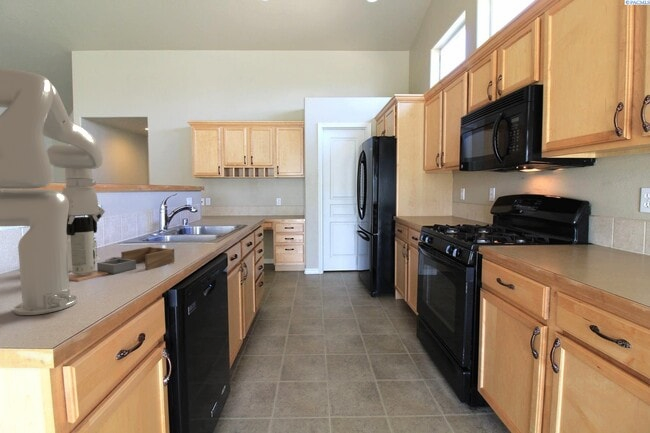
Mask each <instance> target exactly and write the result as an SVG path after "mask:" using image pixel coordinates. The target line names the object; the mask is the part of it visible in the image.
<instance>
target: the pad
mask: <svg viewBox="0 0 650 433" xmlns="http://www.w3.org/2000/svg"><path fill="white" fill-rule="evenodd" d="M105 275H109V274H108V272H101V271H97V270H95V271H94V272H91V273H86V274H73V273H69V281H74V282H81V281H85V280H90V279H94V278H98V277H101V276H105Z"/></svg>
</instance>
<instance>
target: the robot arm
mask: <svg viewBox="0 0 650 433" xmlns="http://www.w3.org/2000/svg"><path fill="white" fill-rule="evenodd" d="M0 108H3V109H4V108H5V110H4V111H3V112H1V114H0V227H29V229H28V230H27V231H26V233H24V234H23V235H22V236H21V238H20V240H19V241H18V246H17V249H18V251H17V252H18V262H19V263H18V264H19V277H20V289H21V303H19V304H17V305H16V306H15V307H14V308H13V310H14V314H16V315H19V316H36V315H43V314H49V313H53V312H58V311H62V310H64V309H67V308H70V307H72V306H74V305H75V304H76V303H77V302H78V297H77V296H76V295H74V294H71V291H70V290H71V289H70V280H69V274H70V273H69V272H68V256H67V238H66V233H67V235H75V230H74V224H72V222H73V220H74V218H75V217H84V216H85V217H92V218H93V229H94V234H96V233H97V232H98V222H99V220H100V219H101V218H102V216H103V215H104V214H105V212H106V211H105V209H104V208H102V207H100V206H99V201H98V195H97V191H96V189H95V187H94V186H96V184H97V183H96V181H95V180H93V179H94V178H93V170H95V169H96V170H97V169H99V168H100V167H101V166H102V165H103V154H102V152H101V148H100V145H99V144H98V141H97V139H96V138H95V136H93V134H92V133H91V132H89V131H88V130H86V129H84V128H83V127H82V126H80V125H78V124H77V123H75V122H73V121H72V120H71V119H70V117H69V114H68V113H67V112H68V111H67V109H66V107H65V105H64V104H63V102H62V98H61V97H60V94H59V92H58V90H57V88H56V87H55V85H54V84H52V83H51V81H50V80H49V79H48V78H47V77H46V76H44V75H41V74H39V73H37V72H36V73H35V72H32V71H27V70H21V69H15V68H9V67H8V68H7V67H6V68H5V67H0ZM44 137H47V138H49V139H51V140H55V141H57V142H61V143H63V144H54V145H51V146H49V147H48V148H47V146H46V143H45V138H44ZM64 143H65V144H64ZM67 144H68V145H67ZM52 166H53V167H54V168H59V169H64V174H65V187H63V188H62V192H61V191H58V190H53V189H47V188H46V189H45V187H48V186H49V185H51V183H52V182H53V178H54V177H53V176H54V175H53V170H52V169H53V168H52Z"/></svg>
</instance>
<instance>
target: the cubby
mask: <svg viewBox="0 0 650 433" xmlns="http://www.w3.org/2000/svg"><path fill="white" fill-rule="evenodd" d="M120 254H121V256H120V257H122V259H130V260H136V265H138V264H140V263H145V270H146V271H149V270H152V269H156V268H161V267H164V266H168V265H171V264H170V263H172V264H174V262H175V248H167V247H156V246H146V247H141V248H135V249H131V250H130V249H129V250H124V251H121V253H120ZM167 264H168V265H167Z"/></svg>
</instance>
